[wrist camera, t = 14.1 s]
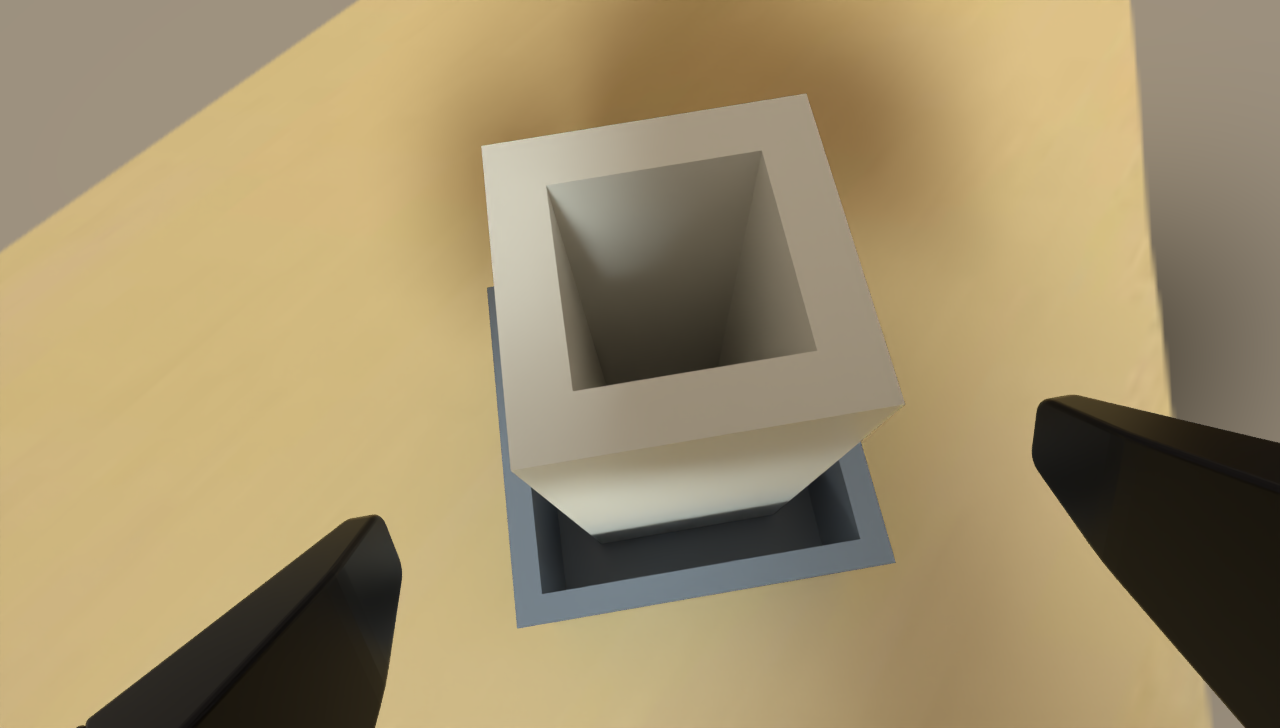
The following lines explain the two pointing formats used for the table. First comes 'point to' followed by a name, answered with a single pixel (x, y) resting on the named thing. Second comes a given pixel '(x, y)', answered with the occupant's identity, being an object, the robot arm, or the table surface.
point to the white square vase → (680, 317)
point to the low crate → (683, 543)
